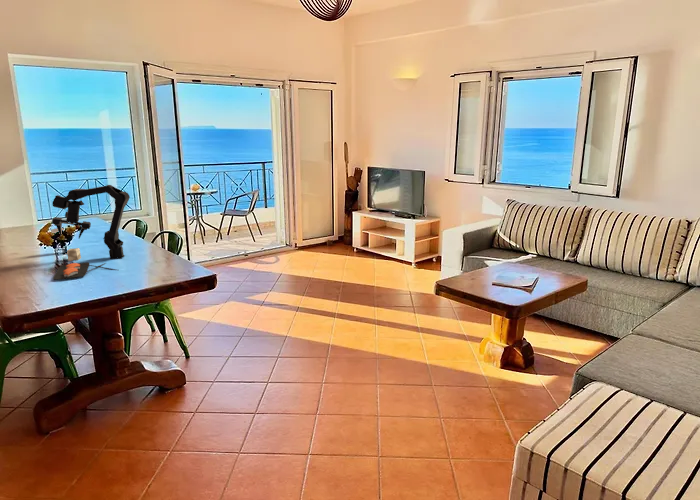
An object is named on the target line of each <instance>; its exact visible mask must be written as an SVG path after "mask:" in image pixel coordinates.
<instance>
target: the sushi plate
mask: <svg viewBox="0 0 700 500" xmlns="http://www.w3.org/2000/svg"><path fill="white" fill-rule="evenodd" d="M105 264H107V262H104V263H102V264H100V265H92V264H90V262H72V263H67V264H62V265H60V266H59V267H58V268H57V271H56V272H55V274H54V276H53V277H52V279H53V280H54V281H58V280H59V281H60V280H61V281H62V280H63V281H64V280H72V279H77V278H83V277H85V276H86V274H87V273H88V272H91V271H93V270H95V269H97V268H100V269H104V270H111V271H118V269H115V268H111V267H103V266H104V265H105ZM90 266H91V267H94V268H92V269H89V268H90ZM88 269H89V270H88Z"/></svg>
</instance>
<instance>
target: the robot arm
mask: <svg viewBox="0 0 700 500" xmlns="http://www.w3.org/2000/svg"><path fill="white" fill-rule="evenodd" d="M105 193H107V194H108V195H109V196H110V197H111V198H113V199H114V205H115V207H114V211H113V215H112V218H111V219H112V220H111V223H110V226H109V229H108V230H107V231H105V232H104V235H103V238H102V239H103V243H104V245H106V247H107V248H108V249H109V250H108V252H109V254H108V255H109V260H117V259H123V258H124V257H125V256H126V255H125V254H124V247H123V246H124V241H123V240H121V239H120V237H119V228H120V224H121V221H122V217H123V213H124V209H125V208H126V206H127V204H128V202H129V200H130V198H131V197H130V194H129V193H128V192H127V191H123V190H121V189H119V188H117V187H115V186H113V185H112V184H107V185H103V186H97V187H92V188H75V189H71V190H69V191H68V193H67V195H65V196H61V195H58V194H57V195H55V197H54V198H53V201H52V204H51V205H52V207H54V208H57V209H62V210H66V209H67V211H65V214H64V217H65V219H63V218H62V217H57V216H54V217H53V218H52V220H51V224H52V225H54V226H55V227H56V229H57V228H58V231H59V234H60V236H61V234H62V228H63V227H62V226H63V225H62V224H67V225H73V226H78V227H79V226H80V231H79V235H78V239H80V238H81V236H82V235H83V233H84V232H85V231H87V230H90V228H91V222H90V221H85V220H84V221H82V222H79V220H80V215H79V214H80V208H81V207H82V206H84V205H85V203H84V202H83V200H80V199H83V198H86V197H88V196H89V197H90V196H93V195H100V194H105Z"/></svg>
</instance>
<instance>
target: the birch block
mask: <svg viewBox="0 0 700 500" xmlns="http://www.w3.org/2000/svg"><path fill="white" fill-rule="evenodd" d="M66 255H67V261H68V262H71V261H73V260H75V261H80V260H81V259H82V255H81V249H80V248H79V247H78V248H77V247H76V248H69V249H68V250H67V253H66Z"/></svg>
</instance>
